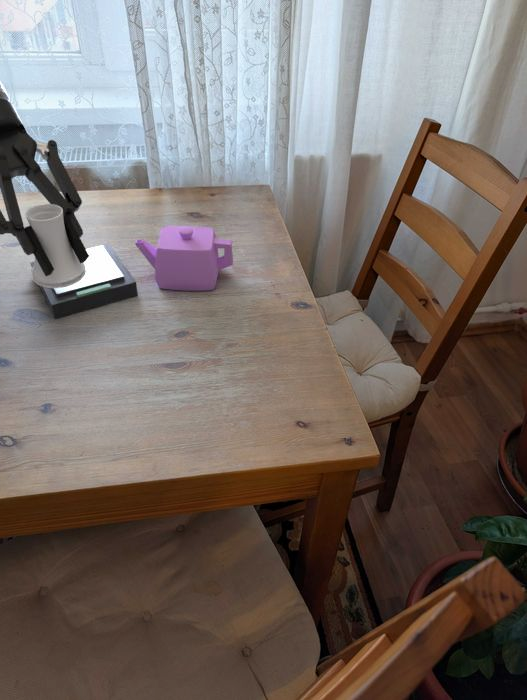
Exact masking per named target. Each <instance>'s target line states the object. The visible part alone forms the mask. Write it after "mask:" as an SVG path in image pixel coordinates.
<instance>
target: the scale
mask: <svg viewBox="0 0 527 700" xmlns="http://www.w3.org/2000/svg"><path fill="white" fill-rule="evenodd" d="M85 249H86V250H87V252H88V254H89V257H88V259H87V260H86V261H85V262H84V263H85V268H86V274H85V276H84V277H83V278H82V279H81V280H80V281H78V282H77V283H75V284H73V285H70V286H67V287H62V288H46V287H42V286H40V285H38V287H39V288H40V290H41V293H42V295H43V297H44V299H45V301H46V303H47V305H48V307H49V310H50V311H51V313H52V315H53V317H54V319H55V320H56V319H60V318H63V317H64V318H65V317H66V316H71V315H75V314H78V313H81V312H85V311H88V310H92V309H95V308H99V307H102V306H106V305H110V304H112V303H115V302H119V301H122V300H127V299H130V298H133V297H138V296H139V294H138V287H137V282H136V280H135V279H134V277H133V275H132V274H131V273H130V271H129V270H128V269H127V267H126V266H125V265H124V263H123V262H122V260H121V259H120V258H119V256H118V255H117V253H116V252H115V250H114V249H113V248H112V247H111V245H110V243H106V244H101V245H97V246H93V247H90V248H85ZM34 263H35V260H34V261H31V262H30V266H31V268H32V267H33V266H34Z"/></svg>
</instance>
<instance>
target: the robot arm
mask: <svg viewBox="0 0 527 700" xmlns="http://www.w3.org/2000/svg"><path fill="white" fill-rule="evenodd" d="M37 153H39V155H40V156H41V158H42V159H43V160H44V161H46V164H47V167H48V168H49V171H50V173H51V175H52V176H53V178H54V181H55V183H56V184H57V186H58V188H59V190H60V191H59V190H58V188H57V187H56V186H55V185H54V183H53V182H52V181H51V180H50V179H49V178H48V176H46V174H45V173H44V172H43V171H42V168H41V166H40V165H39V163H38V162H37V160H35V159H36V154H37ZM23 176H24V177H25V178H26V179H27V180H28V181H29V182H31V183H32V184H33V185H34V186H35V188H36V189H37V190H38V191H39V192H40V194H41V195H42V197H44V198H45V199H46V200H47V202H48V204H54V205H58V206H60V207H61V208H62V209H63V219H64V225H65V230H66V233H67V237H68V239H69V242H70V244H71V246H72V249H73V250H74V252H75V254H76V256H77V258H78V260H79V262H80V264H81V263H83V262H85V261H86V260H87V259H88V257H89V254H88V252H87V250H86V249H87V248H86V247H85V245H84V243H83V241H82V239H81V237H83V235H84V230H83V228H82V226H81V224H80V222H79V220H78V218H77V216H76V215H75V213H76V212H78V211H79V209H80V208H81V205H82V204H83V200H82V198H81V196H80V195H79V192H78V190H77V188H76V187H75V184H74V182H73V181H72V178H71V177H70V175H69V173H68V171H67V169H66V167H65V165H64V163H63V161H62V160H61V157H60V155H59V148H58V143H57V142H56V141H55V140H54V139H50V140H48V141H47V142H41V141H36V140H35V138H34V137H32V136H31V135H30V134H29V133H28V131H27V129H26V127H25V125H24V123H23V121H22V119H21V117H20V116H19V114H18V112H17V109H16V108H15V106H14V105H13V103H12V102H11V101H10V96H9V95H8V93H7V91H6V89H5V87H4V85H3V84H2V82H1V81H0V191H1V195H2V200H3V203H4V208H5V211H6V214H7V218H8V220H7V219H6V217H5V215H4V214H3V212H2V210H1V209H0V235H5V234H11V235H12V236H13V237H15V238H16V239H17V242H18V243H19V245H20V247H21V249H22V251H23V252H24V254H26V255H27V256H30V255H33V256H34V259H35V258H36V259H37V261H38V263H39V265H40V267H41V269H42V271H43V272H44V274H45V276H49V275H51V274H52V272H53V270H54V268H53V266H52V264H51V262H50V260H49V259H48V257H47V255H46V253H45V251H44V249H43V247H42V246H41V244H40V242H39V240H38V238H37V236H36V235H35V233H34V231H33V229H32V227H31V226H30V225H28V226H24V221H23V216H22V214H21V210H20V206H19V203H18V199H17V195H16V191H15V188H14V183H13V180H12V179H15V177H23Z"/></svg>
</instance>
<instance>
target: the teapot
mask: <svg viewBox="0 0 527 700" xmlns="http://www.w3.org/2000/svg"><path fill="white" fill-rule="evenodd" d="M134 245H135V247H137V248H138V250H139V251H140V253H141V254H142V255H143V257H145V259H146V260H147V261H148V263H149V264H150V266H151V267H153V269H154V273H155V281H156V284H157V286H158V288H160V289H162V290H172V291H184V292H186V291H187V292H200V291H205V292H206V291H213V290H215V288H216V284H217V282H218V275H219V271H221V270H222V271H223V270H224V269H226V268H229V267H231V266H233V265H234V255H233V244H232V239H225V238H217V237H216V232H215V229H214V228H212V227H208V226H207V227H205V226H197V225H196V226H195V225H194V226H193V225H165V226H162V227H161V230H160V233H159V237H158V241H157V243H156V248H155V247H154V246H153V245H151V244H150V243H149V242H148V241H145V240H144V238H140V239H136V240H135V242H134ZM219 249H223V255H222V256H220V257H219Z"/></svg>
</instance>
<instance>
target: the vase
mask: <svg viewBox="0 0 527 700" xmlns="http://www.w3.org/2000/svg"><path fill="white" fill-rule="evenodd" d="M24 215H25V218H26V220H27V222H28V226H31V227H32V229H33V231H34V233H35V235H36V236H37V238H38V240H39V242H40V244H41V246H42V247H43V249H44V251H45V253H46V255H47V257H48V259H49V260H50V262H51V264H52V266H53V268H54V270H53V272H52V274H51V275H49V276H45V274H44V272H43V271H42V269H41V267H40V265H39V263H38V261H37V259H36V258H35V257H34V261H35V263H34V266H33V267H31V270H30V274H31V276H32V280H33V282H34V283H35V284H36V285H38V286H39V285H40V286H42V287H46V288H62V287H67V286H70V285H73V284H75V283H77V282H78V281H80V280H81V279H82V278H83V277H84V276H85V274H86V268H85V263H84V262H83V263H81V264H80V262H79V260H78V258H77V256H76V254H75V252H74V250H73V249H72V246H71V244H70V242H69V239H68V237H67V233H66V230H65V225H64V219H63V209H62V208H61V207H60V206H58V205H54V204H50V203H42V204H37V205H34V206H32V207H29V208H28V209H27V210H26V211H25V213H24ZM40 286H39V287H40Z"/></svg>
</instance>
